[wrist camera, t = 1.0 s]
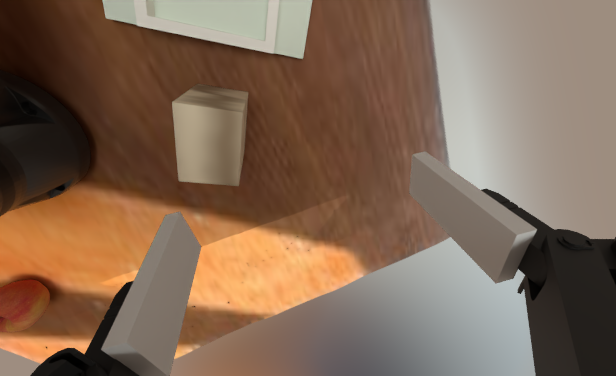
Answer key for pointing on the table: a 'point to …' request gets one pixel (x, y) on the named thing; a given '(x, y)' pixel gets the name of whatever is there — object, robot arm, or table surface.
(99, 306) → the table surface
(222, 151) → the tan wooden block
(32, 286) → the apple
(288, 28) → the chassis bay
